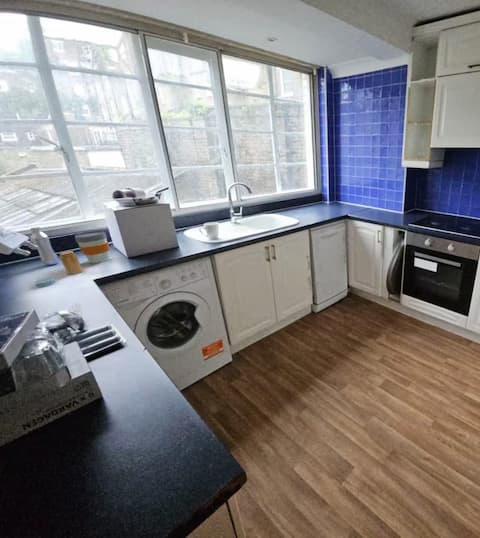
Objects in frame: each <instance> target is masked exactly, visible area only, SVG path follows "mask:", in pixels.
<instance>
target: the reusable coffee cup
mask: <svg viewBox="0 0 480 538" xmlns="http://www.w3.org/2000/svg"><path fill="white" fill-rule="evenodd" d="M74 239H75V241H76V242H75V243H77V244H78V247H79V249H80V251H81V252H82V254H83V255H84V256H85V258H86V259H87V261H88V262H89V264H99V263H104V262H107V261H109V260H111V253H110V244H109V241H108V239H107V235H106V232H105V231H103V230H93V231H86V232H82V233H78V234H76V235H74Z"/></svg>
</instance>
